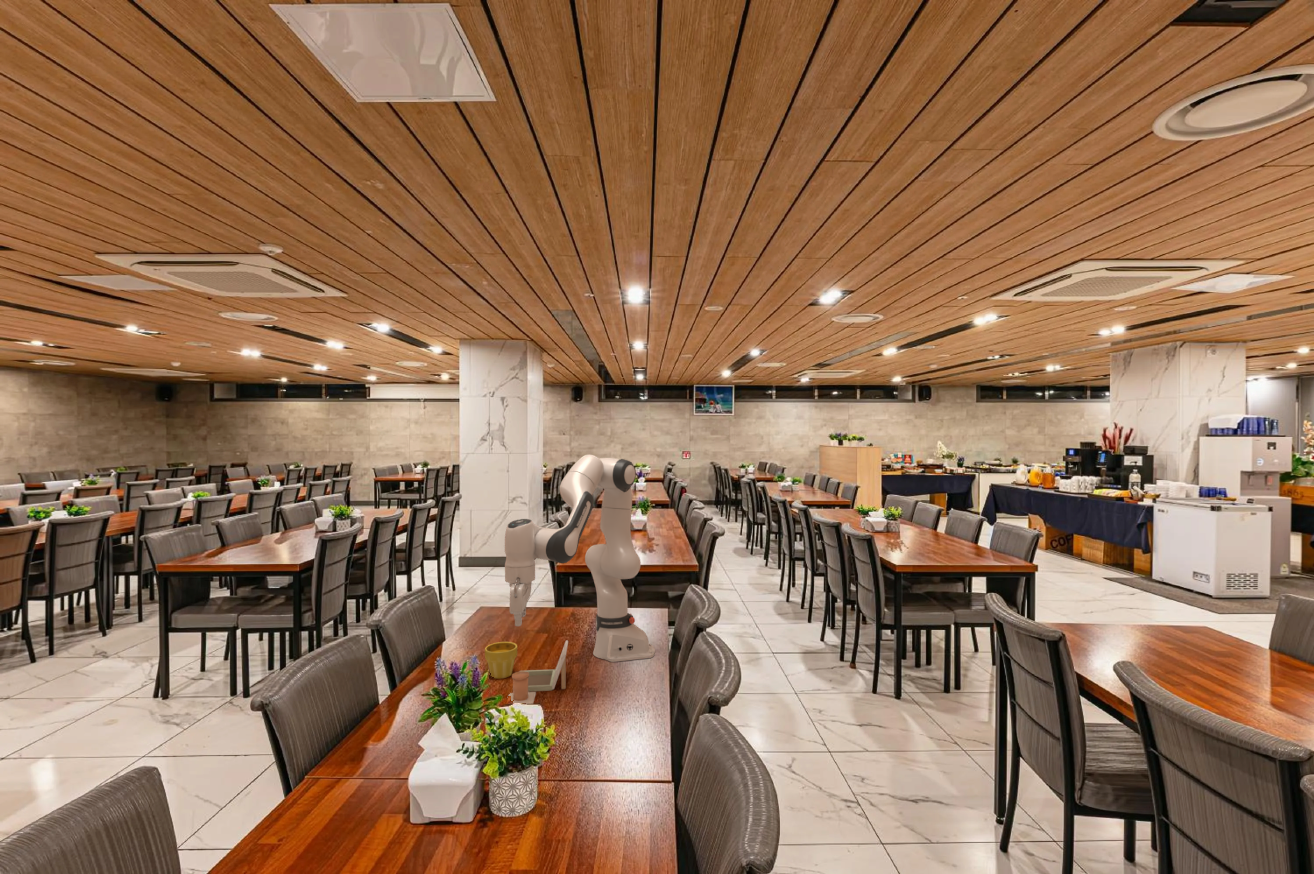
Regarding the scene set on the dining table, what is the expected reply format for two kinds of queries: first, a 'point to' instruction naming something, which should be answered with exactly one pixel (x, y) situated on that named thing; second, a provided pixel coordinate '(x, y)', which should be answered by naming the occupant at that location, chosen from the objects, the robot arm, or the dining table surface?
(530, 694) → the plate
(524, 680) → the terracotta pot
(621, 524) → the robot arm
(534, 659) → the dining table surface
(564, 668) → the propped lid
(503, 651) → the plant pot
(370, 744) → the dining table surface
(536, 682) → the shallow square tray
